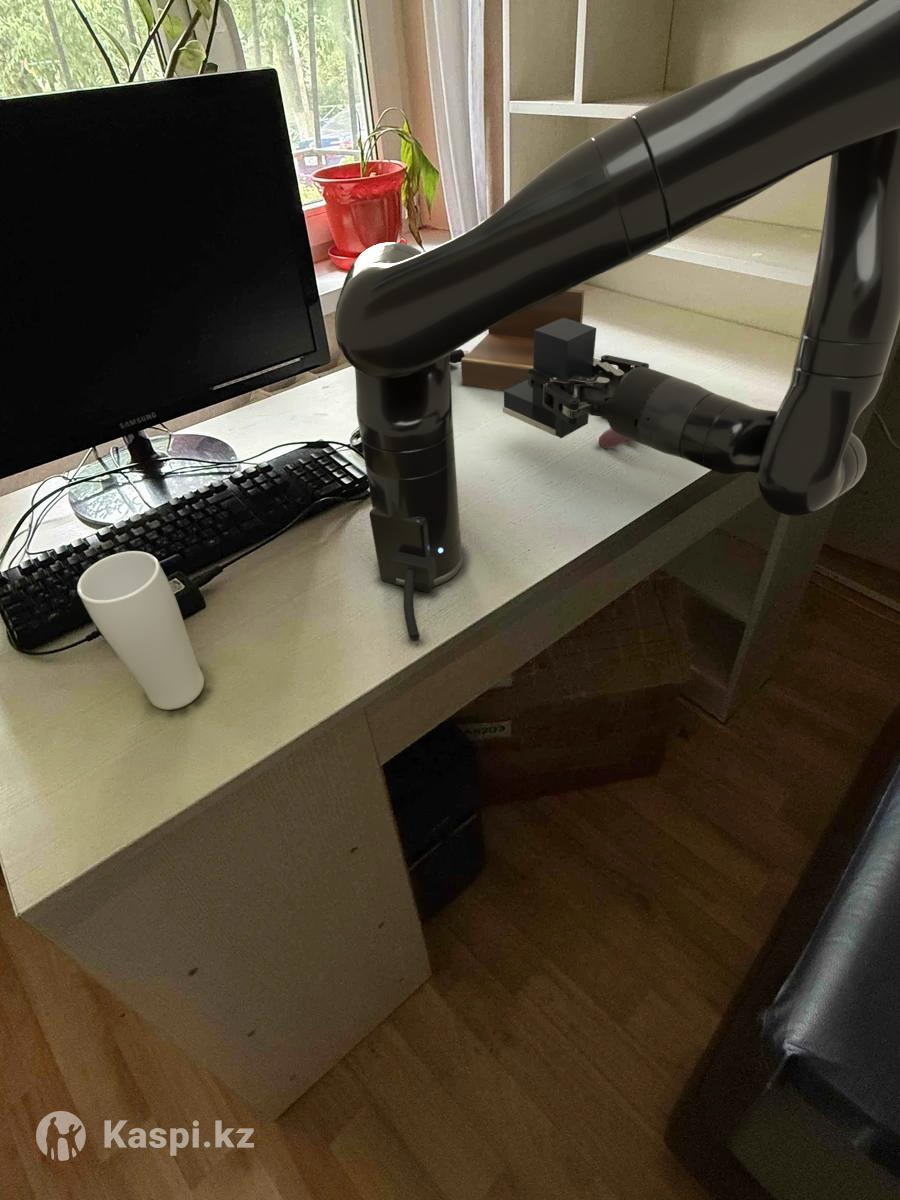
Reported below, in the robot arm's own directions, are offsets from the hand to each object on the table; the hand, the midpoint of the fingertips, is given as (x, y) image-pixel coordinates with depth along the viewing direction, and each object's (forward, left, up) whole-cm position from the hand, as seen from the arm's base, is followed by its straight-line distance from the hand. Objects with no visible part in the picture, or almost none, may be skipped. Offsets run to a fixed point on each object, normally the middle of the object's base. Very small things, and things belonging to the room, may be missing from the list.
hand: (546, 368), depth 83 cm
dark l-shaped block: (0, 0, -6) cm, 6 cm away
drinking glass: (-50, +21, -14) cm, 56 cm away
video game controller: (+12, -7, -14) cm, 20 cm away
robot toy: (+21, +29, -14) cm, 38 cm away
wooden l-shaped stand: (+26, +13, -14) cm, 32 cm away
